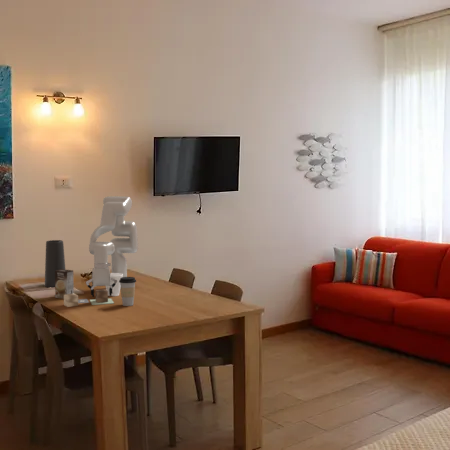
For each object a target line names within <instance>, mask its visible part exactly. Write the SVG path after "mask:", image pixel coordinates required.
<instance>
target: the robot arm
mask: <svg viewBox="0 0 450 450" xmlns="http://www.w3.org/2000/svg"><path fill="white" fill-rule="evenodd" d="M102 203H103V205H102V210H101V212H102V213H101V218H100V225H99V226H97V227H96V228H95V229H94V231H93V232H92V234H91V235H90V239H89V244H88V251H89V253H90V254H91V255H93V264H94V267H93V268H92V273H91V278H90V279H89V280H86V281H85V284H86V286H87V287H88V288H89V289H90V295H91V296H92V297H93V298H94V297H95V287H106V286H109V287H110V288H109V295H110V296H109V297H112V296H111V294H112V288H113V287H114V286H115V284H116V283H117V280H115V279H113V278H111V277H110V273H121V274H123V277H128V260H127V258H126V256H125V255H124V254H134V253H137V252H138V249H139V243H138V238H139V237H138V227H137V224H136V222H134V221H130V220H128V221H127V220H125V217H126V216H127V215H128V213H129V212H130V211H131V209H132V206H133V201H132V198H131V197H130V196H118V195H117V196H116V195H115V196H112V195H111V196H105V197H103V200H102ZM108 232H111V234H112V236H113V237H115V238H112V239H111V240H110V241H97V239H98V238H99V237H100V236H102V235H104V234H106V233H108ZM109 256H110V257H111V258H110V260H111V262H109ZM110 267H111V271H110ZM111 280H112V281H114V283H113V284H112V285H111ZM90 283H92V285H91V284H90ZM120 290H121V288H120Z"/></svg>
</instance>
